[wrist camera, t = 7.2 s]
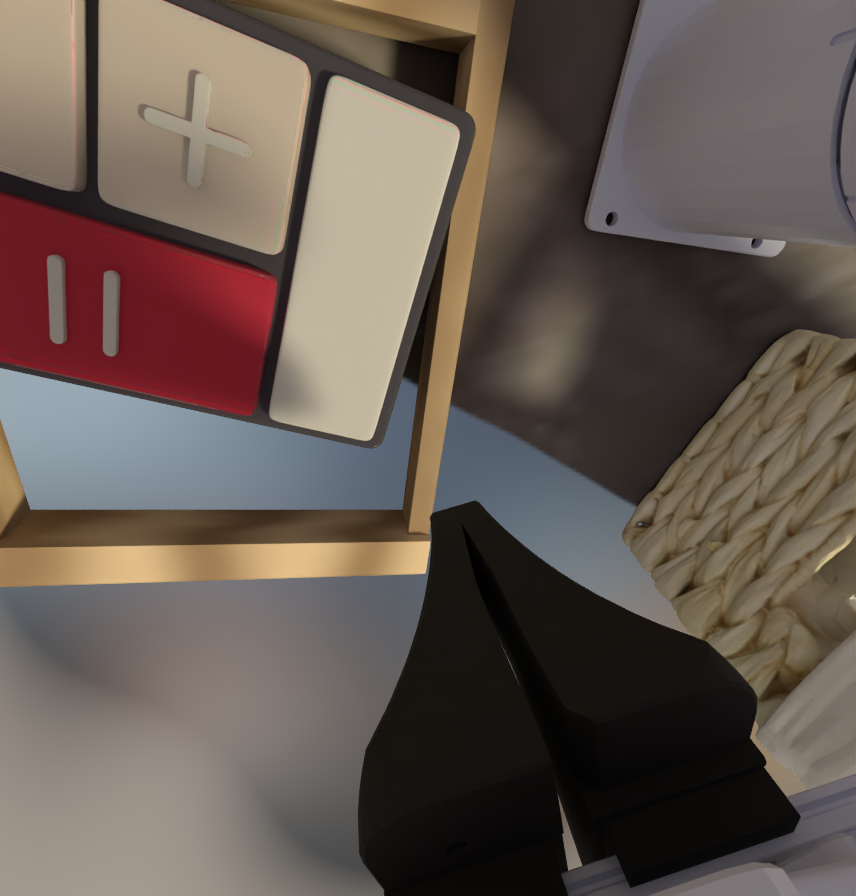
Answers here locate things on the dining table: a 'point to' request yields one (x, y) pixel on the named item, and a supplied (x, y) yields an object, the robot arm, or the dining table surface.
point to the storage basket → (772, 547)
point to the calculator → (216, 213)
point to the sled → (407, 531)
